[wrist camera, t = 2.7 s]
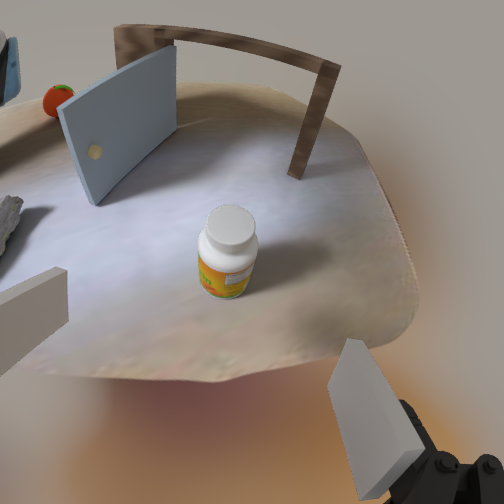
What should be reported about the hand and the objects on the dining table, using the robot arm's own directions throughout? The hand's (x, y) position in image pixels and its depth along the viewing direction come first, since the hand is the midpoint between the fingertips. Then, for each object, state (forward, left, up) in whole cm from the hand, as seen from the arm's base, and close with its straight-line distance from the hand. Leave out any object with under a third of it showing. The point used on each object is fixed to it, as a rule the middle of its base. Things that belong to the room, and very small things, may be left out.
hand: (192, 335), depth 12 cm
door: (-23, +20, -16) cm, 34 cm away
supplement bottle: (-3, +10, -16) cm, 20 cm away
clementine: (-50, +25, -16) cm, 58 cm away
